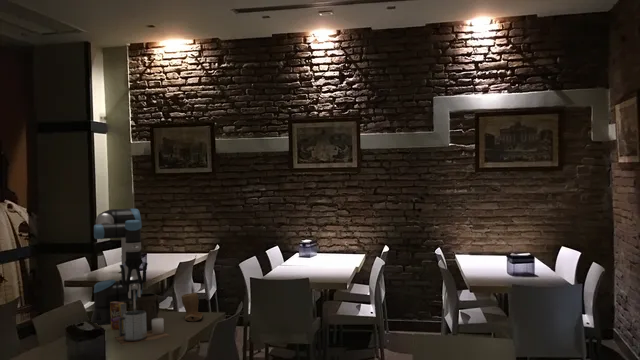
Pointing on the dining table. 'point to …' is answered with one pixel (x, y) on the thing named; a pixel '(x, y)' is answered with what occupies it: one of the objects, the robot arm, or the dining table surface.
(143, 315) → the grey octagonal container
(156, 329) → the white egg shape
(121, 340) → the serving board
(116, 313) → the candy box
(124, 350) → the dining table surface
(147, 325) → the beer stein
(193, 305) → the brown boot
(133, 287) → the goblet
